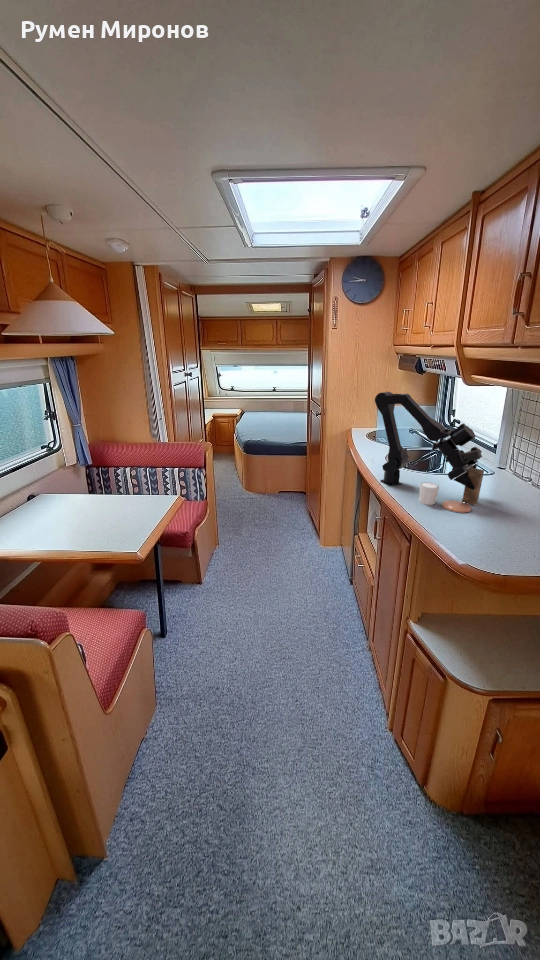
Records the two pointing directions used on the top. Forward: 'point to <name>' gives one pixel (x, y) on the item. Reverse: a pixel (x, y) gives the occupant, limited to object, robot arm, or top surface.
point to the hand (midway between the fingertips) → (477, 486)
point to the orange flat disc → (456, 506)
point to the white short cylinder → (428, 493)
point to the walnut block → (476, 478)
